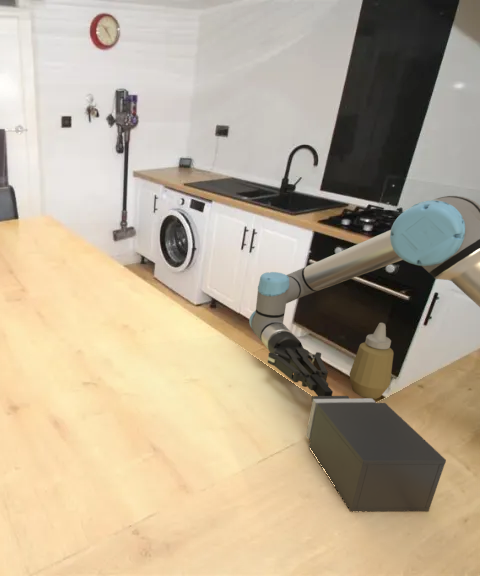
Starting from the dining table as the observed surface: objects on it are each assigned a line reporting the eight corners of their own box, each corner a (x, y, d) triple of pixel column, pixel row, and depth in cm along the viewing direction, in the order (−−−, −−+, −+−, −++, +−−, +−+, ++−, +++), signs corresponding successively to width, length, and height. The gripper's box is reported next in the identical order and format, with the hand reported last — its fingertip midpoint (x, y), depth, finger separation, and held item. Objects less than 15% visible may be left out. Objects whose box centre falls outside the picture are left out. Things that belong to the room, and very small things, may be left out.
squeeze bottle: (357, 379, 103) (371, 313, 97) (393, 394, 96) (411, 325, 90) (339, 389, 99) (354, 322, 93) (375, 406, 92) (393, 335, 86)
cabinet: (308, 448, 81) (317, 403, 77) (373, 447, 80) (385, 402, 77) (350, 511, 67) (363, 460, 63) (428, 511, 67) (446, 460, 63)
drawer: (296, 421, 87) (302, 386, 84) (350, 421, 87) (359, 385, 84) (342, 489, 70) (352, 448, 67) (410, 488, 70) (423, 447, 67)
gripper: (304, 355, 108) (356, 411, 86) (255, 356, 109) (293, 412, 86) (309, 330, 106) (363, 381, 83) (258, 330, 106) (298, 381, 84)
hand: (327, 396), depth 85 cm, fingers closed
